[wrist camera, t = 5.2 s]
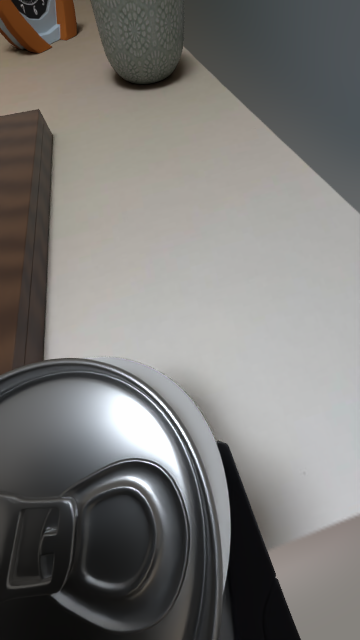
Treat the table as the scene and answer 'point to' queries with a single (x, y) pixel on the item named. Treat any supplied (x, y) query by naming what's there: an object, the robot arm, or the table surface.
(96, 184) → the table surface
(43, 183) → the shelf
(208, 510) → the can
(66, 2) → the alarm clock
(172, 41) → the planter
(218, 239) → the table surface
